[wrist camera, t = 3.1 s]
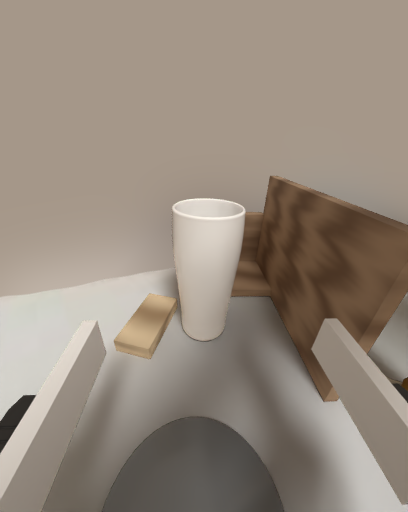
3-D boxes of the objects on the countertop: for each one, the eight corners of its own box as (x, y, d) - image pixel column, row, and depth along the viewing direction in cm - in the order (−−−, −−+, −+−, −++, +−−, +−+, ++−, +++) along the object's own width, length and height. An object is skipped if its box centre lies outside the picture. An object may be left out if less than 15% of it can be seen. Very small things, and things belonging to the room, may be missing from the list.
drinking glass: (241, 329, 25) (262, 209, 18) (199, 360, 21) (204, 224, 14) (206, 300, 30) (211, 195, 23) (165, 321, 26) (156, 203, 19)
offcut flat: (150, 361, 22) (148, 349, 21) (117, 352, 22) (113, 340, 21) (177, 309, 28) (176, 298, 27) (150, 304, 29) (149, 293, 28)
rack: (336, 400, 18) (442, 237, 11) (173, 407, 18) (161, 234, 10) (258, 262, 40) (275, 175, 32) (183, 262, 39) (182, 172, 31)
